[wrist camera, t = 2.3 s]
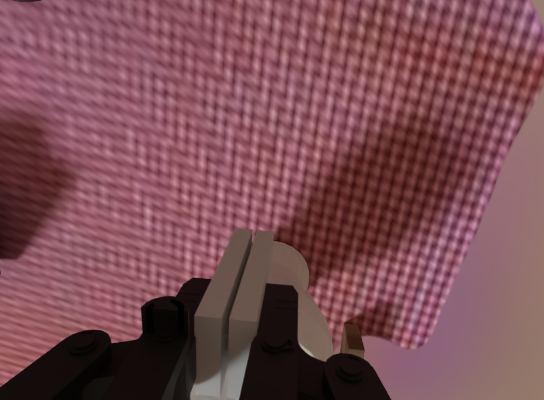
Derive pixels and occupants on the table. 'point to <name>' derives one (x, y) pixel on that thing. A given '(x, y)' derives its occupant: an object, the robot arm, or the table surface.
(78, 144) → the table surface
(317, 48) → the table surface
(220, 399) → the cup
